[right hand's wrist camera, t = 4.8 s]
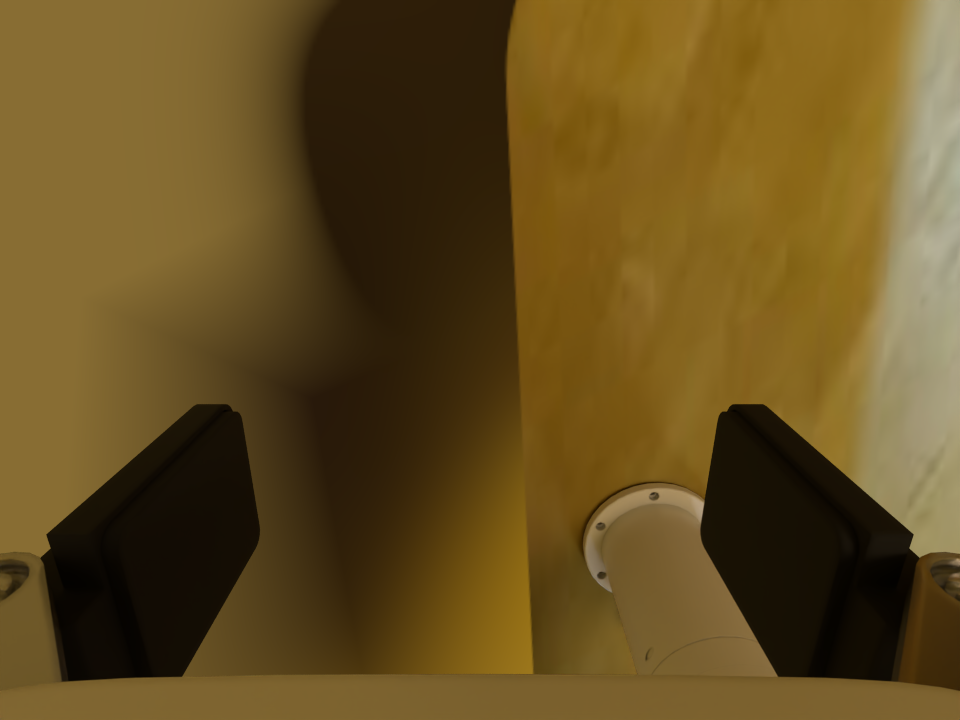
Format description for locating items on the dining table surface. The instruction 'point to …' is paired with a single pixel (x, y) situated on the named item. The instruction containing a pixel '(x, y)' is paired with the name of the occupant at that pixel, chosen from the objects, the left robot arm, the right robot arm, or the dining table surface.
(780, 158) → the dining table surface
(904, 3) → the dining table surface
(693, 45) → the dining table surface
